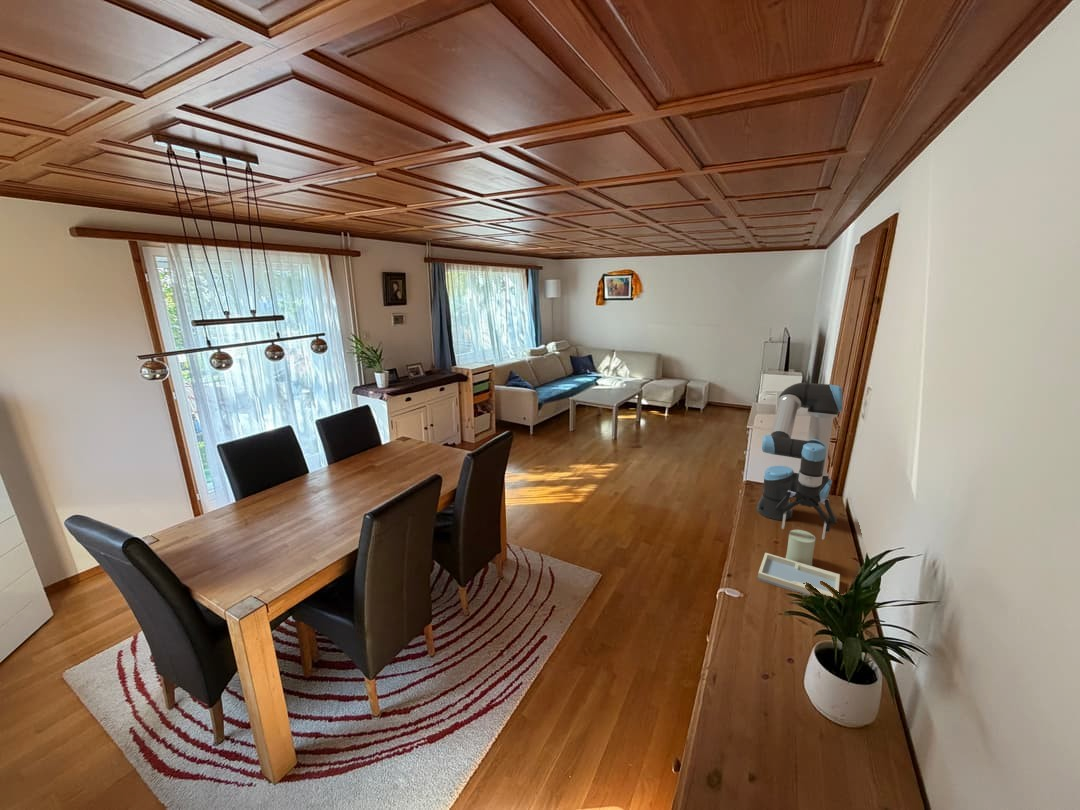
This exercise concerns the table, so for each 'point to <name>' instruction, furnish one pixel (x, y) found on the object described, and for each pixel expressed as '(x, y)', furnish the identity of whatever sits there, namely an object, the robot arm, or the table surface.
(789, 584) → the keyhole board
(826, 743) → the table surface
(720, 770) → the table surface
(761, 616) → the table surface
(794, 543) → the can
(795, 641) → the table surface
